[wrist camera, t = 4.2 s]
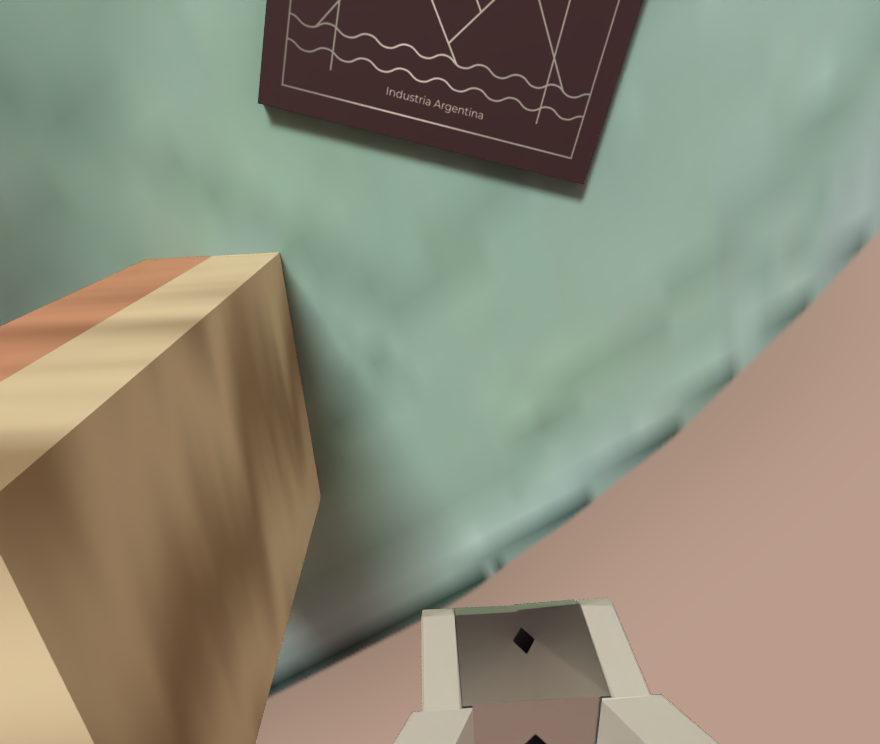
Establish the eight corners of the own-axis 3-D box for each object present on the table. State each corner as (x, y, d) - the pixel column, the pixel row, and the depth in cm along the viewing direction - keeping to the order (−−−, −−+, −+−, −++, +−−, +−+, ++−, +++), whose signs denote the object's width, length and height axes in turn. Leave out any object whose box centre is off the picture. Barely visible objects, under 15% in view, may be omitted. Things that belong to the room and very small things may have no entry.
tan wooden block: (144, 259, 16) (-456, 536, 5) (279, 252, 16) (-21, 508, 5) (211, 504, 20) (-49, 973, 9) (321, 497, 20) (199, 954, 9)
